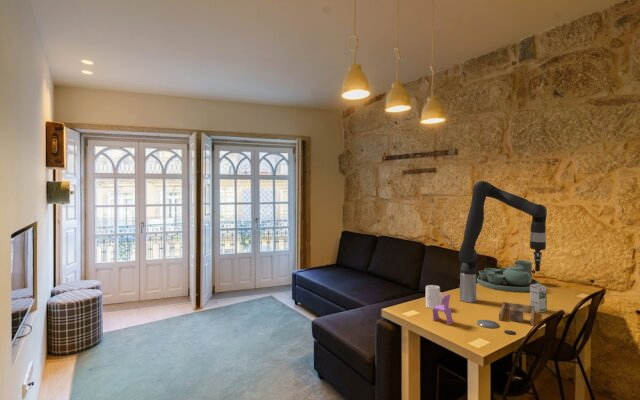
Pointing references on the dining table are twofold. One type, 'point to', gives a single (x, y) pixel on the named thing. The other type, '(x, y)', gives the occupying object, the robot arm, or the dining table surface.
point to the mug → (433, 296)
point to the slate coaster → (487, 324)
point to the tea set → (508, 277)
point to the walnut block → (516, 314)
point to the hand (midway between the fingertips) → (537, 269)
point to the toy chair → (443, 309)
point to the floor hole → (509, 332)
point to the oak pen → (525, 307)
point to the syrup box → (538, 297)
